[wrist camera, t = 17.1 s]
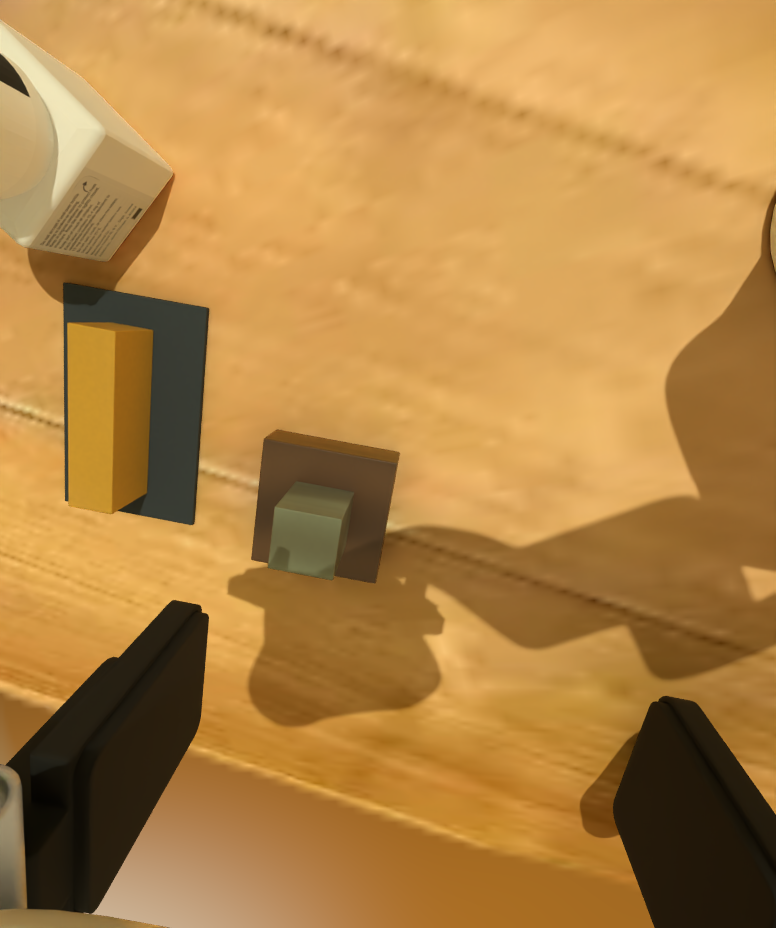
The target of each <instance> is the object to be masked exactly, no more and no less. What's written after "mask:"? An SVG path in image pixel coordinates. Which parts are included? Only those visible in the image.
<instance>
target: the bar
mask: <svg viewBox="0 0 776 928" xmlns="http://www.w3.org/2000/svg"><path fill="white" fill-rule="evenodd" d="M67 341H68V492H69V506H71V507H76V508H81V509H86V510H92V511H97V512H102V513H107V514H113V513H114V512H116V511H118V510H119V509H121V508H123V507H124V506H126V505H128V504H129V503H131V502H133V501H134V500H136V499H138V498H139V497H141V496H143V495H144V494H146V493H147V481H148V456H149V430H150V405H151V379H152V354H153V330H151V329H145V328H140V327H134V326H129V325H123V324H118V323H112V322H69V323H67Z"/></svg>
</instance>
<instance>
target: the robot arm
mask: <svg viewBox="0 0 776 928" xmlns="http://www.w3.org/2000/svg"><path fill="white" fill-rule="evenodd" d="M770 244H771V255H772V260H773V264H774V268H775V272H776V204H775V207H774V211H773V217H772V223H771V229H770ZM208 623H209V616H208V614H206V613H202V609H201V606H200V605H197V604H192V603H187V602H182V601H177V600H173V601H171V602H170V603H169V604H168V605H167V606H166V607H165V608H164V609H163V610H162V611H161V613H160V614H159V615H158V616H157V617H156V618H155V619H154V620H153V621H152V622H151V623H150V624H149V626H148V627H147V628H146V629H145V630H144V631H143V632H142V633H141V634H140V635H139V636H138V637H137V639H136V640H135V641H134V642H133V643H132V644H131V645H130V646H129V647H128V648H127V649H126V650H125V652H124V653H123V654H122V655H121V656H120V657H119V658H117V657H112V658H109V659H107V660H106V661H105V662H104V663H102V664H101V665H100V667H99V668H98V669H97V670H96V671H95V672H94V673H93V674H92V675H91V676H90V677H89V678H88V679H87V680H86V681H85V682H84V683H83V684H82V685H81V686H80V687H79V689H78V690H77V691H76V692H75V693H74V694H73V695H72V696H71V697H70V698H69V699H68V700H67V701H66V702H65V703H64V704H63V705H62V706H61V707H60V708H59V709H58V711H57V712H56V713H55V714H54V715H53V716H52V717H51V718H50V719H49V720H48V721H47V722H46V723H45V724H44V725H43V726H42V727H41V728H40V729H39V731H38V732H37V733H36V734H35V735H34V736H33V737H32V738H31V739H30V740H29V741H28V742H27V743H26V744H25V745H24V746H23V747H22V748H21V749H20V751H18V752H17V754H16V755H15V756H14V757H13V758H12V759H11V760H10V761H9V762H8V763H7V764H6V765H1V764H0V928H168V927H163V926H157V925H152V924H146V923H141V922H136V921H130V920H125V919H119V918H114V917H108V916H101V915H92V913H93V912H94V911H95V910H96V909H97V908H98V906H99V904H100V903H101V901H102V899H103V898H104V896H105V894H106V892H107V891H108V889H109V887H110V885H111V883H112V882H113V880H114V878H115V876H116V875H117V873H118V871H119V869H120V868H121V866H122V864H123V862H124V860H125V859H126V857H127V855H128V853H129V852H130V850H131V848H132V846H133V845H134V843H135V841H136V839H137V837H138V836H139V834H140V832H141V830H142V829H143V827H144V825H145V823H146V821H147V820H148V818H149V816H150V814H151V813H152V811H153V809H154V807H155V806H156V804H157V802H158V800H159V798H160V797H161V795H162V793H163V791H164V789H165V788H166V786H167V784H168V783H169V781H170V779H171V777H172V775H173V774H174V772H175V770H176V768H177V767H178V765H179V763H180V761H181V759H182V758H183V756H184V754H185V752H186V751H187V749H188V747H189V745H190V744H191V742H192V740H193V738H194V736H195V734H196V732H197V729H198V726H199V723H200V718H201V709H202V696H203V684H204V672H205V660H206V647H207V635H208ZM613 814H614V820H615V823H616V826H617V828H618V831H619V834H620V836H621V839H622V842H623V844H624V847H625V850H626V852H627V855H628V858H629V860H630V863H631V866H632V868H633V871H634V874H635V877H636V879H637V882H638V885H639V887H640V890H641V893H642V895H643V898H644V900H645V903H646V906H647V909H648V911H649V914H650V917H651V919H652V922H653V924H654V927H655V928H776V814H775V813H774V812H773V810H772V809H771V807H770V806H769V804H768V803H767V802H766V800H765V799H764V797H763V796H762V795H761V793H760V792H759V790H758V789H757V787H756V786H755V785H754V783H753V782H752V780H751V779H750V778H749V776H748V775H747V773H746V772H745V770H744V769H743V768H742V766H741V765H740V763H739V762H738V761H737V759H736V758H735V756H734V755H733V753H732V752H731V751H730V749H729V748H728V746H727V745H726V743H725V742H724V741H723V739H722V738H721V736H720V735H719V734H718V732H717V731H716V729H715V728H714V726H713V725H712V724H711V722H710V721H709V719H708V718H707V717H706V715H705V714H704V712H703V711H702V709H701V708H700V707H699V706H698V705H697V703H695V702H693V701H690V700H684V699H679V698H674V697H669V696H663V697H661V698H660V699H659V701H658V702H653V703H651V705H650V707H649V709H648V712H647V715H646V717H645V720H644V722H643V725H642V728H641V730H640V733H639V736H638V738H637V741H636V743H635V746H634V749H633V751H632V754H631V757H630V759H629V762H628V765H627V767H626V770H625V772H624V775H623V778H622V780H621V783H620V786H619V788H618V791H617V793H616V796H615V799H614V803H613ZM84 912H85V913H89V914H85V913H84Z"/></svg>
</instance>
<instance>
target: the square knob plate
mask: <svg viewBox="0 0 776 928" xmlns="http://www.w3.org/2000/svg"><path fill="white" fill-rule="evenodd" d="M399 455H400V453H399V452H395V451H390V450H384V449H379V448H373V447H368V446H363V445H357V444H352V443H346V442H341V441H335V440H330V439H325V438H319V437H314V436H308V435H303V434H298V433H292V432H287V431H281V430H276V431H274V432H273V433H272V434H270V435H269V436H267V437H266V438H264V442H263V452H262V461H261V471H260V481H259V490H258V500H257V509H256V519H255V528H254V538H253V548H252V557H251V560H254V561H260V562H265V563H268V568H270V569H276V570H281V571H286V572H291V573H296V574H302V575H307V576H312V577H317V578H322V579H328V580H333V578H334V576H338V577H343V578H348V579H353V580H359V581H364V582H369V583H376V579H377V574H378V569H379V564H380V558H381V553H382V548H383V542H384V537H385V531H386V526H387V520H388V515H389V509H390V504H391V498H392V493H393V487H394V482H395V477H396V471H397V466H398V460H399Z"/></svg>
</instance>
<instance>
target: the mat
mask: <svg viewBox="0 0 776 928" xmlns="http://www.w3.org/2000/svg"><path fill="white" fill-rule="evenodd" d="M63 300H64V420H65V501H68V502H69V492H68V341H67V323H69V322H112V323H118V324H123V325H129V326H134V327H140V328H145V329H151V330H153V354H152V379H151V405H150V430H149V456H148V481H147V493H146V494H144V495H143V496H141V497H139V498H138V499H136V500H134V501H133V502H131V503H129V504H128V505H126V506H124V507H123V508H121V509H119V510H118V511H121V512H126V513H131V514H136V515H142V516H147V517H152V518H157V519H163V520H168V521H173V522H178V523H183V524H189V525H193V524H194V519H195V505H196V490H197V476H198V461H199V446H200V432H201V417H202V402H203V388H204V373H205V358H206V344H207V329H208V315H209V308H206V307H200V306H194V305H189V304H183V303H178V302H172V301H166V300H161V299H155V298H150V297H144V296H138V295H133V294H127V293H122V292H116V291H110V290H105V289H99V288H94V287H88V286H82V285H77V284H71V283H65V282H64V283H63Z"/></svg>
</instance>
